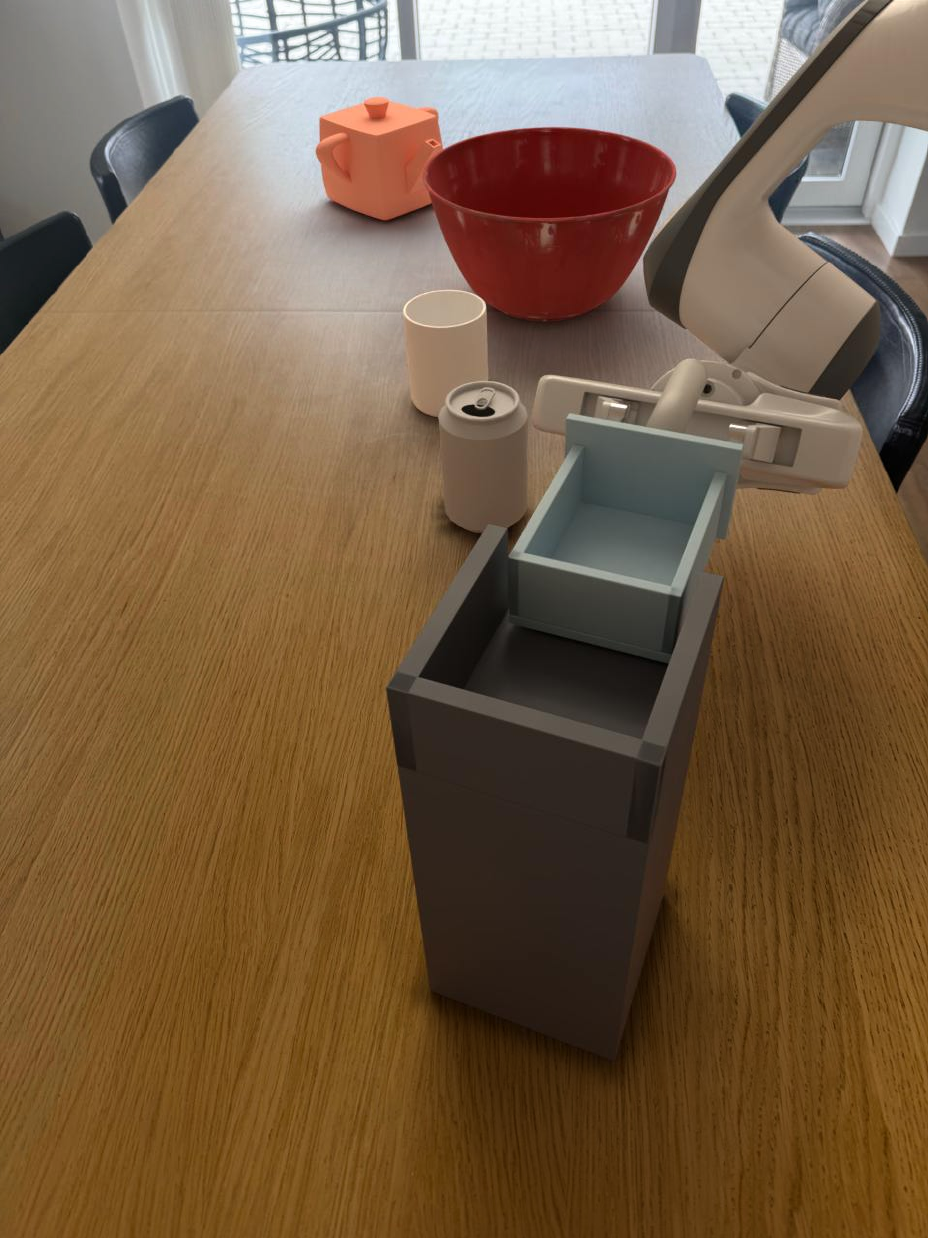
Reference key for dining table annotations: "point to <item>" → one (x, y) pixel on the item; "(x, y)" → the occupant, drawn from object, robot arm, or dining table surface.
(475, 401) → the can
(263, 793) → the dining table surface
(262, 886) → the dining table surface
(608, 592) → the tray
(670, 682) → the box
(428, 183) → the mixing bowl
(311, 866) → the dining table surface
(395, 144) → the teapot
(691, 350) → the dining table surface
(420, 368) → the mug
